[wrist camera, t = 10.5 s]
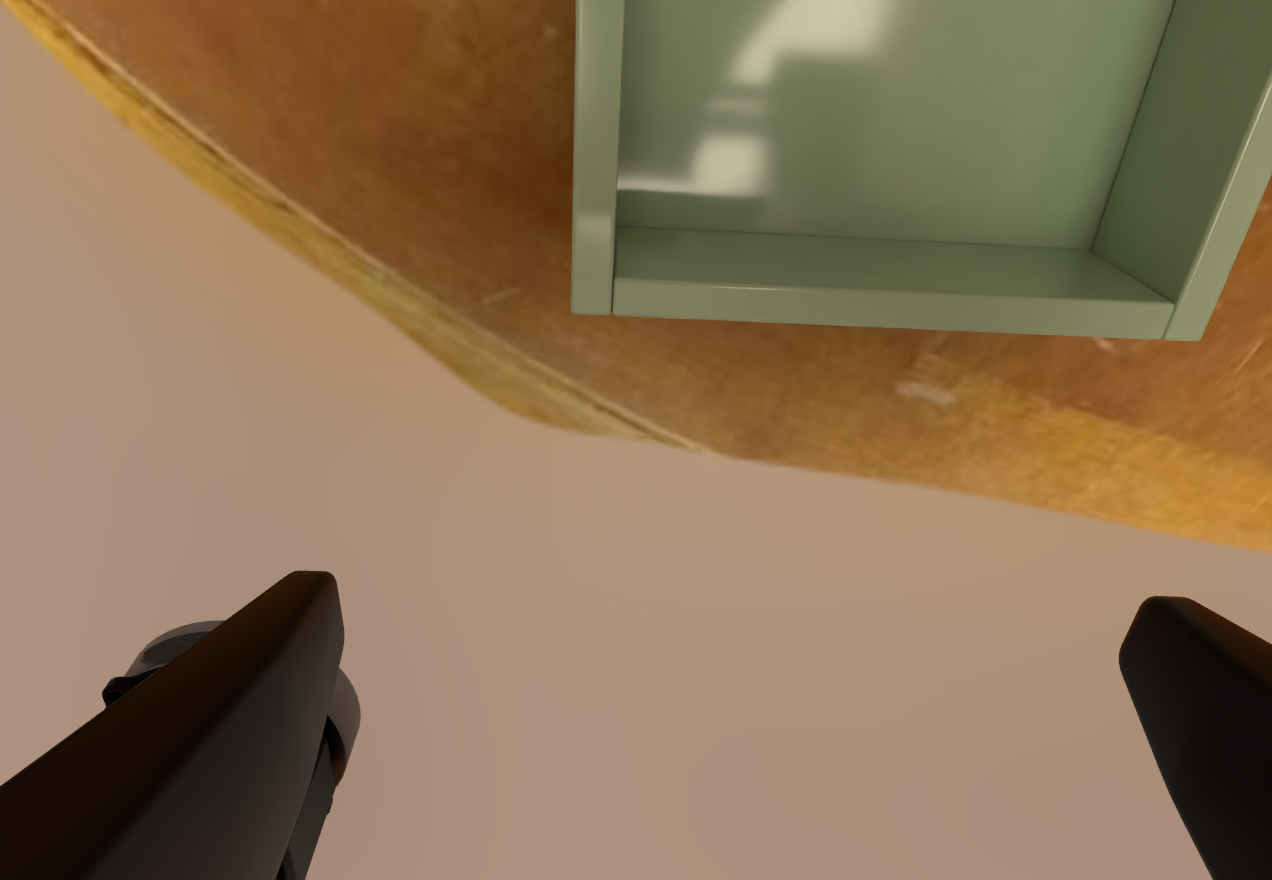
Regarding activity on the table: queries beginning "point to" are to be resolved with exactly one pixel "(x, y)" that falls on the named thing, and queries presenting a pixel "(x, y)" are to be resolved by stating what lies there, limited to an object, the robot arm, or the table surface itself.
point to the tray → (919, 161)
